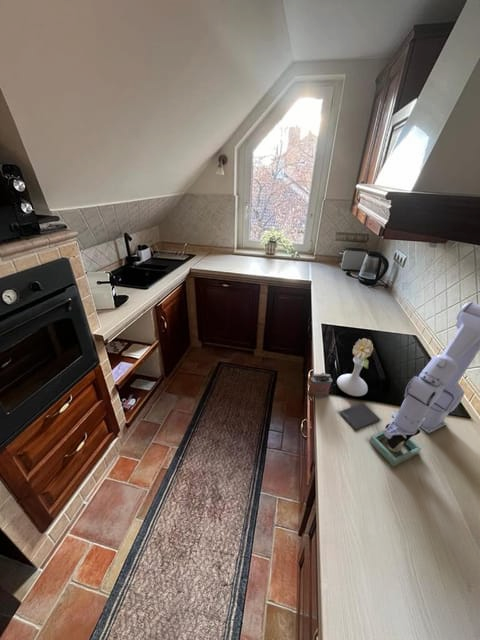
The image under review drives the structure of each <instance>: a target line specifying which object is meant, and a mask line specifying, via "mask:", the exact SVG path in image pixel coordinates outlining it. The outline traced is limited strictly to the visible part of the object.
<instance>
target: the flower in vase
mask: <svg viewBox="0 0 480 640" xmlns="http://www.w3.org/2000/svg"><path fill="white" fill-rule="evenodd" d="M373 346H374V345H373V342H372V341H371V340H370V339H368V338H365V337H363V338H362V339H358V340H357V341H356V342H355V345H353V348H352V355H353V358H352V361H353V363H354V367H353V371H352V373H344V374H341V375H340V376H338V378H337V380H336V384H337V386H338V389H340V390H341V391H342V392H343V393H345V394H347V395H349V396H352V397H363V396H365V395H366V394H367V393H368V390H369V389H368V388H369V387H368V384H367V383H366V381H365V380H364V379H363V378H361V376H360V374H361V371H362V369H363V367H364V368H365V369H367V370H368V369H369V362H370V361H369V359H368V358H369V357H371V356H372V353H373V351H374V347H373Z"/></svg>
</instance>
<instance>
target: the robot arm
mask: <svg viewBox="0 0 480 640" xmlns="http://www.w3.org/2000/svg"><path fill="white" fill-rule="evenodd" d="M455 327H456V329H457V331H456V333H455V334H454V336H453V337H452V338H451V340H450V341H449V342H448V345H447V346H446V348H445V349H444V351H443V353H441V354H437V355H436V354H435V355H433V357H432V358H431V359H430V361H428V363H427V364H426V366H425V367H424V368H423V369H422V370H421V372H420V373H419V375H415V376H413V377H412V378H411V379H410V380H409V382H408V383H407V385H406V387H405V390H404V395H403V397H404V399H403V401H402V403H401V405H400V407H399V409H398V411H397V412H394V413H391V418H392V420H391V422H390V423H388V424H386V425H385V426H384V427H385V429H384V430H383V431H384V432H383V434H384V435H385V436H386V437H385V438H387V442H386V445H387V444H388V445H389V446H390V447H391V448H392V449H394V448H395V447H397V446H398V444H399V443H400V442H403V441H404V443H403V445H404V444H405V442H406V441H407V440H409V439H411V438H412V437H414V436H417V435H419V434H420V433H421V430H420V429H419V428H421V429H422V430H423V431H425V432H426V433H427V434H430V433H432V432H435V431H436V430H438V429H441V428H442V427H445V426H446V425H447V423H446V422H445V420H446V418H447V417H448V415H449V414H450V413H452V412H453V411H455V409H457V407H458V406H459V404H460V403H461V402H462V399H463V398H464V395H465V391H464V389H463V388H462V386H461V384H460V383H459V382H460V380H461V379H462V378H463V376H464V375H465V372H466V371H468V368H469V367H470V365H471V363H472V362H473V360H474V359H475V357H476V356H477V355H478V353H479V352H480V304H477V303H475V302H473V301H469V302H465V304H464V305H463V306H462V307H461V308H460V310H459V311H458V313H457V315H456V324H455ZM402 435H406V436H407V438H405V437H403V436H402Z"/></svg>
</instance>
